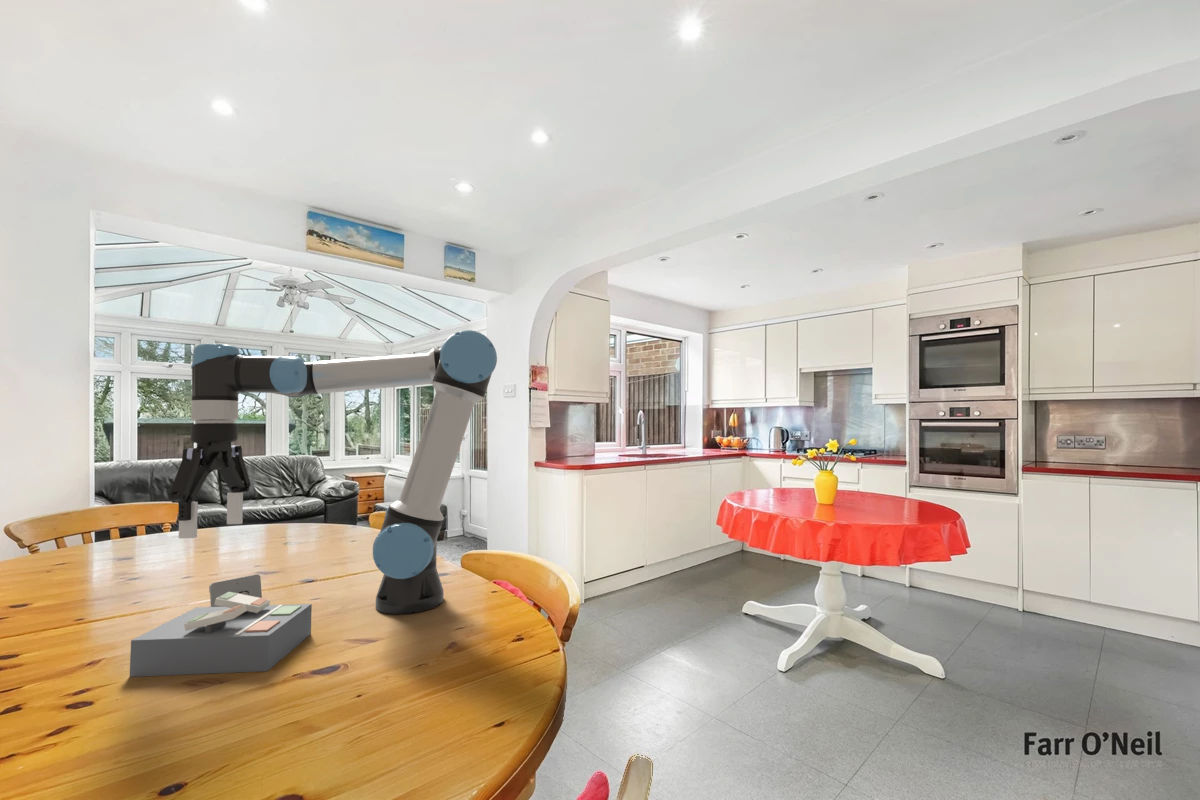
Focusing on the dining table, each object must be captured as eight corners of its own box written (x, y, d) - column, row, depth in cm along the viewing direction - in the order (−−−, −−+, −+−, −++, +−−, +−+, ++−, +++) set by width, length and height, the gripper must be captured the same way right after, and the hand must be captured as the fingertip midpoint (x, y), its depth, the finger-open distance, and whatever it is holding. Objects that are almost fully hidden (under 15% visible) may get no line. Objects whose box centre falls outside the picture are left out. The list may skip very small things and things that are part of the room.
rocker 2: (268, 605, 103) (270, 598, 103) (257, 613, 99) (259, 605, 99) (227, 597, 102) (229, 590, 102) (214, 604, 98) (216, 597, 98)
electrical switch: (212, 630, 107) (212, 584, 108) (204, 627, 110) (205, 582, 111) (263, 618, 114) (263, 574, 115) (255, 615, 118) (255, 572, 119)
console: (310, 634, 105) (311, 597, 105) (267, 671, 89) (269, 628, 90) (194, 638, 103) (196, 601, 103) (129, 676, 87) (131, 633, 88)
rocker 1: (246, 610, 95) (245, 603, 95) (233, 618, 91) (231, 611, 91) (201, 622, 94) (199, 614, 94) (185, 630, 90) (183, 623, 90)
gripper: (234, 423, 116) (233, 519, 115) (144, 422, 91) (141, 545, 90) (270, 422, 116) (268, 518, 115) (189, 421, 91) (186, 544, 90)
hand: (212, 530), depth 102 cm, fingers open, 13 cm apart
